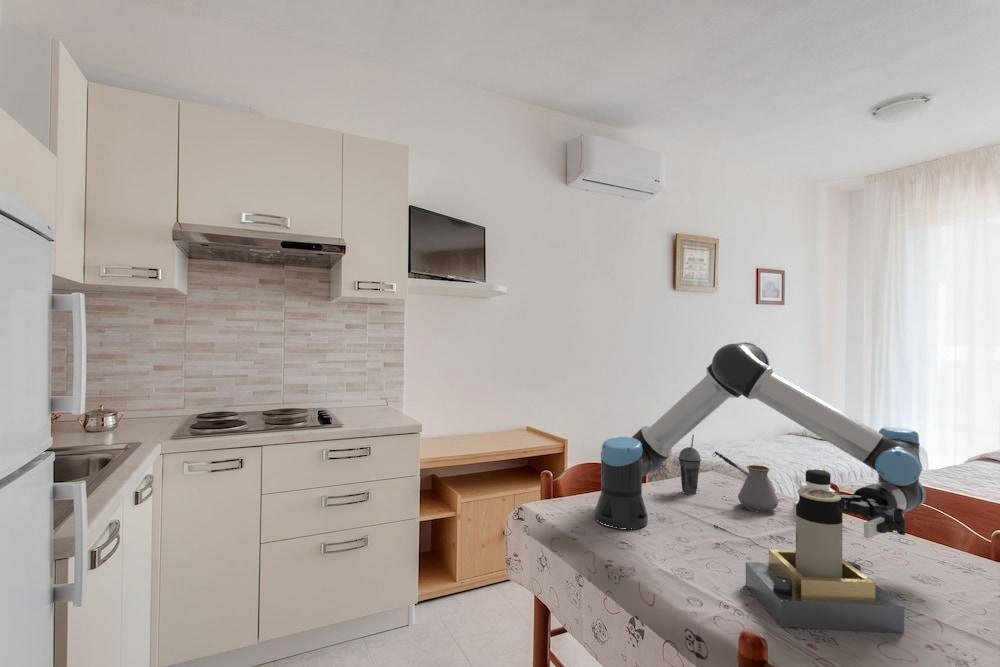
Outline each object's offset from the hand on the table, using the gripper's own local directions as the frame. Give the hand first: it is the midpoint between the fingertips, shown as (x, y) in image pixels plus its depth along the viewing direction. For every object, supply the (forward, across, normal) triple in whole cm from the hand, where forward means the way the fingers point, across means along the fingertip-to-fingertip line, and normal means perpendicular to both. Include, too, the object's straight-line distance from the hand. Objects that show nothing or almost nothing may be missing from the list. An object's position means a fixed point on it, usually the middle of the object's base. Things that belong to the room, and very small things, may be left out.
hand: (828, 519), depth 103 cm
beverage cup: (-34, +62, -17) cm, 73 cm away
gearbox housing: (+3, 0, -17) cm, 18 cm away
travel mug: (+3, 0, -12) cm, 13 cm away
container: (-53, +30, -18) cm, 63 cm away
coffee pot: (-40, +46, -18) cm, 63 cm away
